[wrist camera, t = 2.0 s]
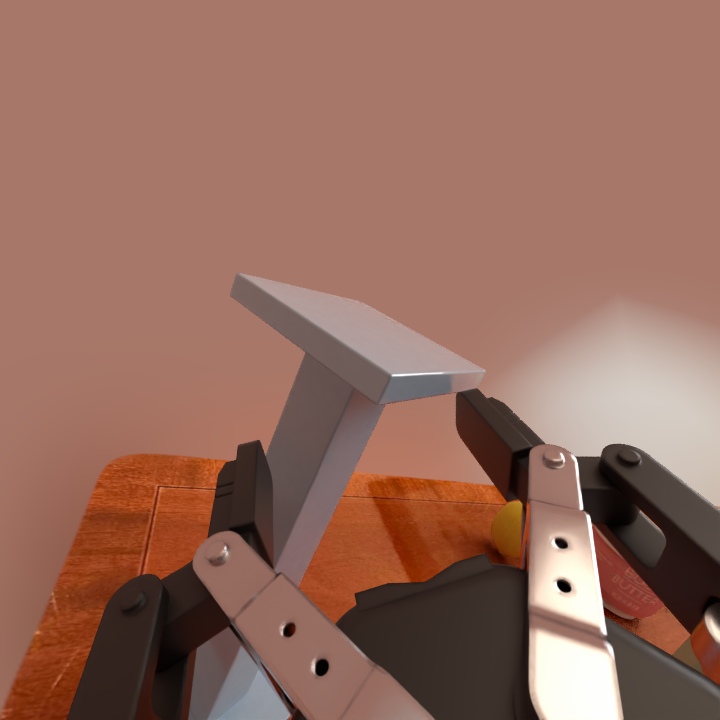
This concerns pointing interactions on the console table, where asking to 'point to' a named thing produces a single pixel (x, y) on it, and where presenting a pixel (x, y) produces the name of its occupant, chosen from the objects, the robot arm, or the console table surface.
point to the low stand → (318, 448)
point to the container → (622, 583)
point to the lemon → (507, 529)
